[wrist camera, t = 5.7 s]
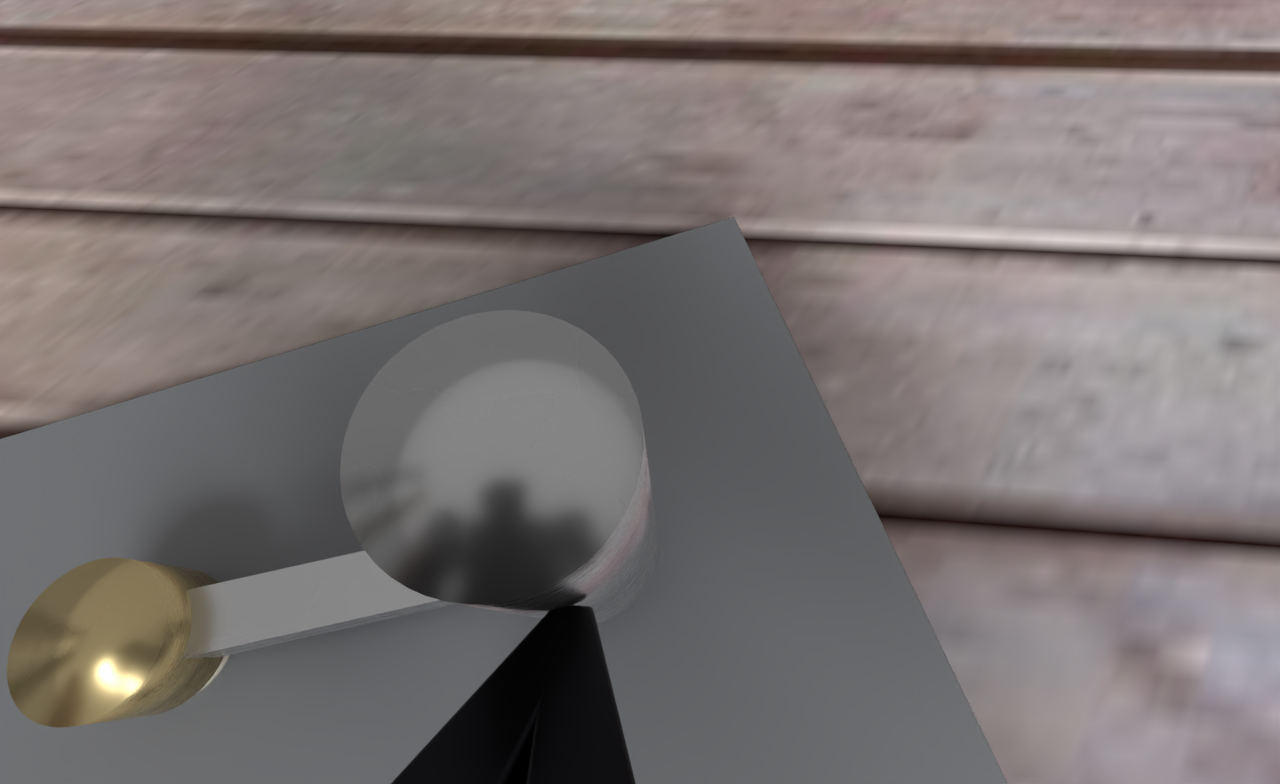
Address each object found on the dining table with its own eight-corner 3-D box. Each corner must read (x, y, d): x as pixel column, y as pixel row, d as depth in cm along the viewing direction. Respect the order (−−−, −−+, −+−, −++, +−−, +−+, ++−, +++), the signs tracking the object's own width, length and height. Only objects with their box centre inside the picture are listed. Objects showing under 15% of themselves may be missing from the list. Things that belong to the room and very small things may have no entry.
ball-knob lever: (83, 740, 13) (-629, 859, 6) (104, 576, 15) (-459, 509, 7) (674, 605, 14) (675, 562, 7) (641, 457, 15) (611, 284, 8)
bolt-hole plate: (-155, 1399, 11) (-246, 1481, 10) (-43, 473, 18) (-90, 462, 17) (1046, 905, 13) (1081, 929, 12) (730, 237, 20) (734, 213, 18)
